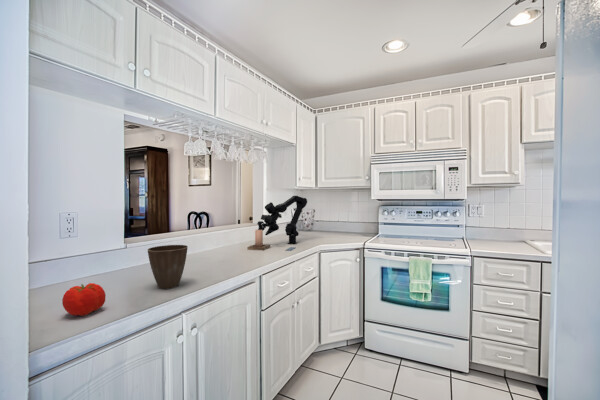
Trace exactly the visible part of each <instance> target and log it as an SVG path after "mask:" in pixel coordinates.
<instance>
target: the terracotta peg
mask: <svg viewBox="0 0 600 400" xmlns="http://www.w3.org/2000/svg"><path fill="white" fill-rule="evenodd" d="M254 230H255V231H254V233H255V234H254V239H255V240H254V244H255V247H263V245H264V244H263V242H264V237H263V236H264V235H263V233H264V230H258V229H254Z"/></svg>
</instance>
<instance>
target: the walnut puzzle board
mask: <svg viewBox="0 0 600 400" xmlns="http://www.w3.org/2000/svg"><path fill="white" fill-rule="evenodd" d="M270 248H271V244H263V247H255V243H254V244H252V245H249V246H247V249H246V250H247V251H248V250H249V251H265V250H267V249H270Z"/></svg>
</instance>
